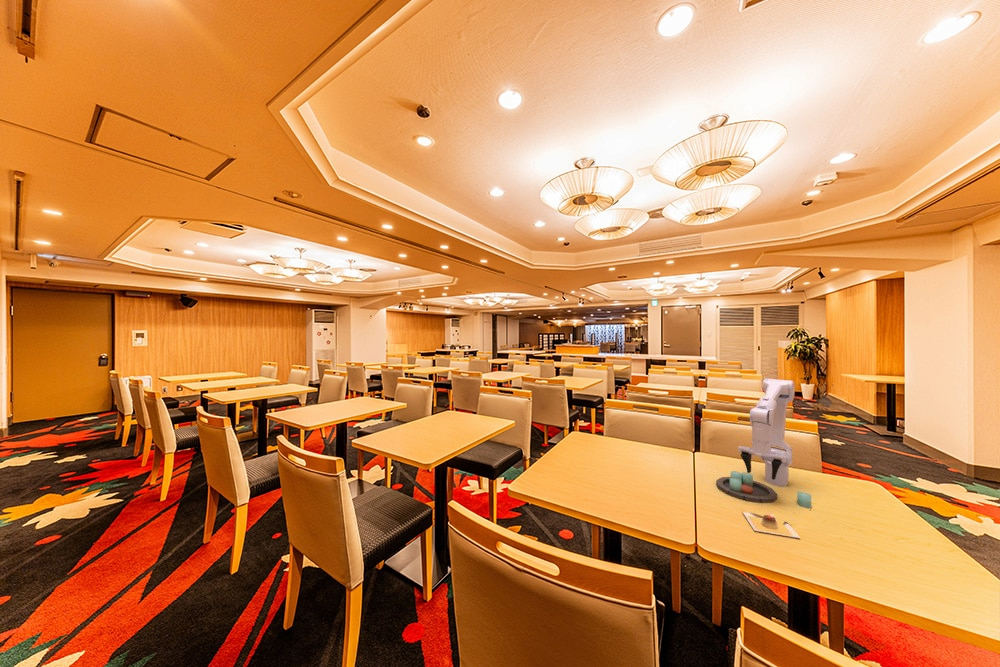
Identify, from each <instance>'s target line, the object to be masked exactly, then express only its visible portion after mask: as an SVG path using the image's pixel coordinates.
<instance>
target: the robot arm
mask: <svg viewBox="0 0 1000 667" xmlns="http://www.w3.org/2000/svg"><path fill="white" fill-rule="evenodd" d="M795 389H796V385H795V382H794V381H793V380H785V379H778V378H777V379H775V378H774V379H773V378H767V377H766V378H764V379H763V381H762V390H763V392H764V396H761V397H760V398H759V400H758V402H757V403H756V406H755V407H753V408H750V411H749V421H750V427H751V444H752V445H751V447H748V446H741V445H739V446H737V450H738V453H740V457H741V459H742V461H743V463H744V466H745V468H746V471H747V472H746V473H750V474H751V472H752V455H753V456H757V457H760V459H761V460H762V461H763V463H764V482H766V483H767V484H770V485H772V486H777V487H787V486H788V483H789V482H790V481H789V479H790V478H789V475H790V474H789V467H790V466H791V465H792V464H793V448H792V447H791V445H789V443H787V442H786V441H785V434H786V433H785V432H786V423H787V422H786V419H787V410H788V405H789V402H793V401H794V399H795V392H796V391H795Z"/></svg>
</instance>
